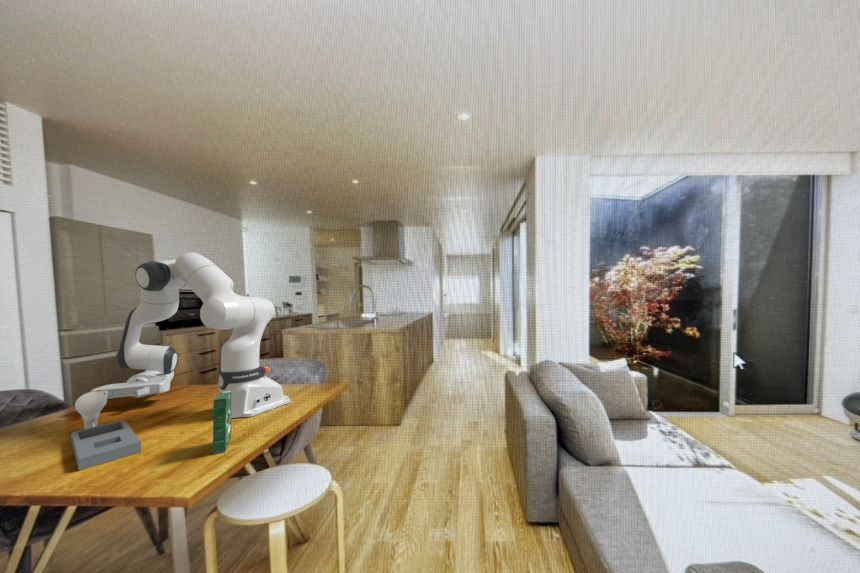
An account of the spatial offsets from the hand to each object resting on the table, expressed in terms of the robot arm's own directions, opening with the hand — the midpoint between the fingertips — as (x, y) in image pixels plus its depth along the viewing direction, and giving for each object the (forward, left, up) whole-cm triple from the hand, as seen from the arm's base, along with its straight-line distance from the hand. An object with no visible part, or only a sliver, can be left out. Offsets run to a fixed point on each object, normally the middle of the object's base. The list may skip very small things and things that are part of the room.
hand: (117, 395), depth 99 cm
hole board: (+5, +29, -6) cm, 31 cm away
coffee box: (-13, +55, -7) cm, 57 cm away
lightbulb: (+6, +9, -7) cm, 13 cm away
